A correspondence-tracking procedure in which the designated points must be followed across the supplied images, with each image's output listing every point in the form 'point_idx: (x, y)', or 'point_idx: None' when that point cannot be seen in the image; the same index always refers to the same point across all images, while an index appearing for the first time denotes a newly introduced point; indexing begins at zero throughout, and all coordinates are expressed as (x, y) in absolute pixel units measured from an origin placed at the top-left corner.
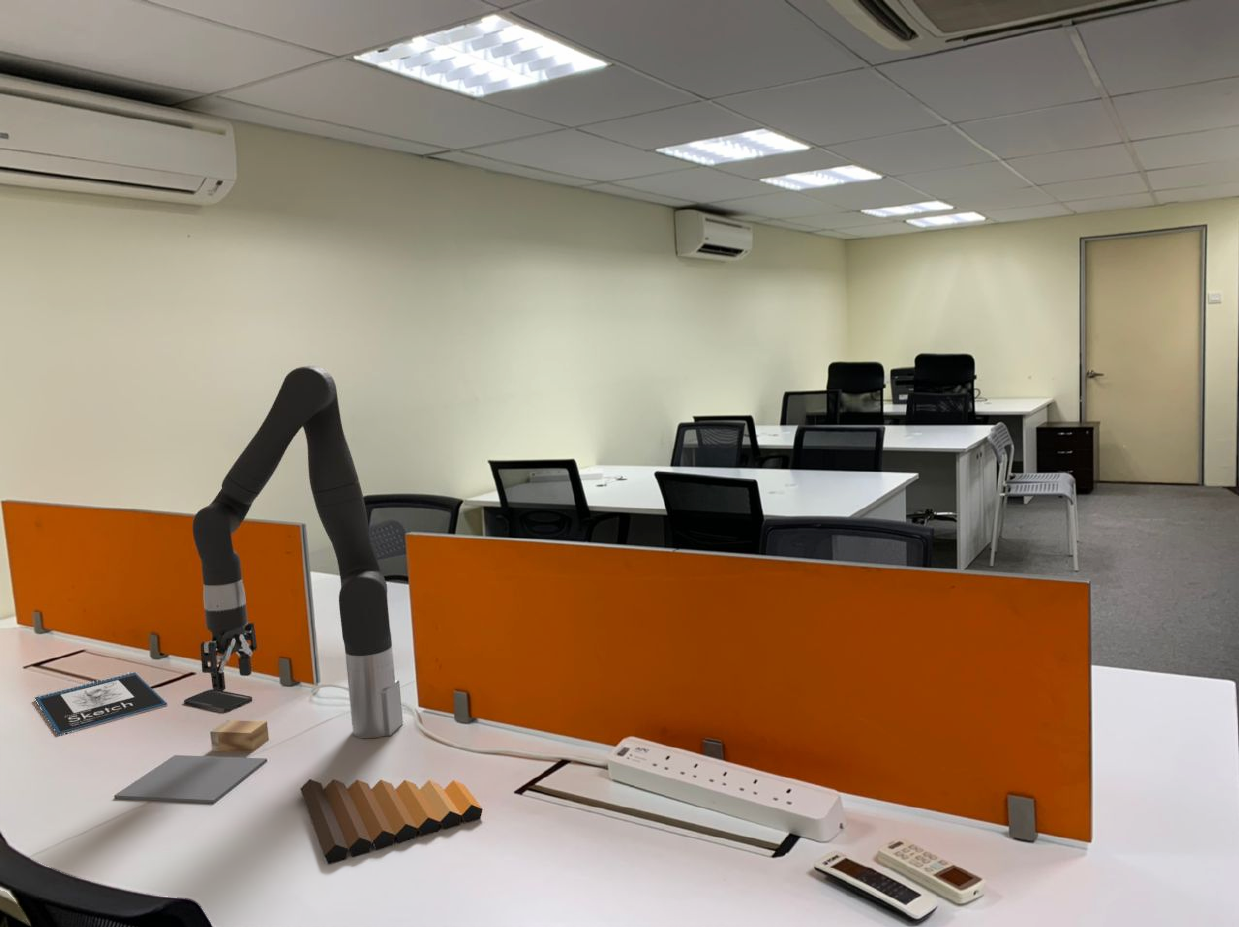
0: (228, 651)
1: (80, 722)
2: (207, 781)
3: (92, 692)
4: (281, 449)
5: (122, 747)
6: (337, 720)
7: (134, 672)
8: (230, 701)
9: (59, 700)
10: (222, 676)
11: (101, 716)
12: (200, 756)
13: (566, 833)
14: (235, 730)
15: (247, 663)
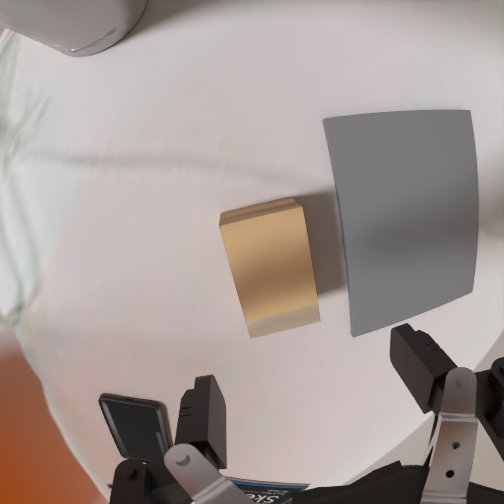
0: (460, 464)
1: (277, 492)
2: (433, 174)
3: None
4: None
5: (325, 426)
6: (74, 135)
7: None
8: (130, 418)
9: None
10: (434, 360)
11: (255, 491)
12: (351, 286)
13: None
14: (299, 265)
15: (210, 419)
